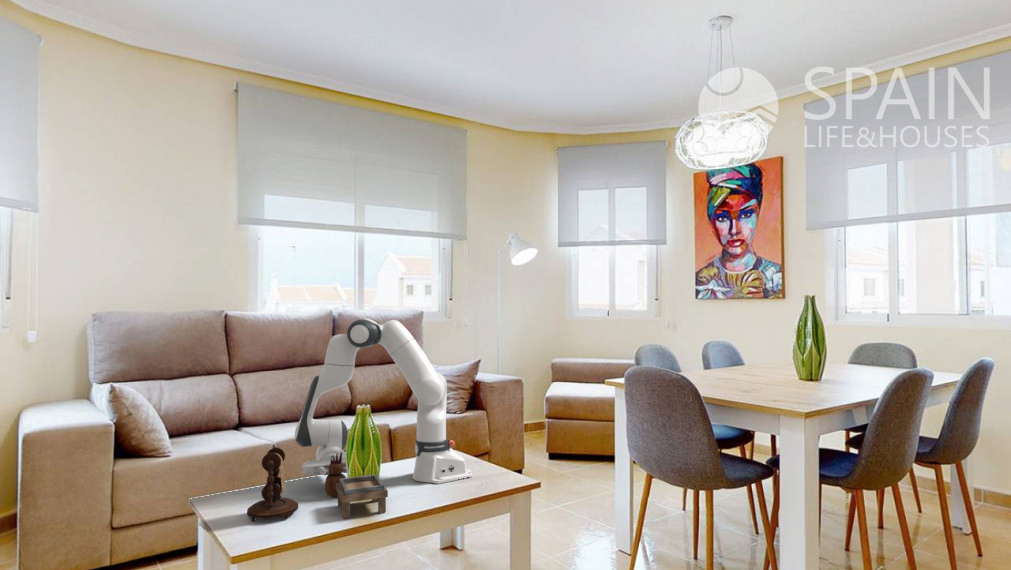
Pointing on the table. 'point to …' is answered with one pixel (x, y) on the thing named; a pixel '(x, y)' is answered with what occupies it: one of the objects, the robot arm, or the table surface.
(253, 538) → the table surface
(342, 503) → the stool
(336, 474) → the wooden figurine
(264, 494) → the dark brown tall figurine
